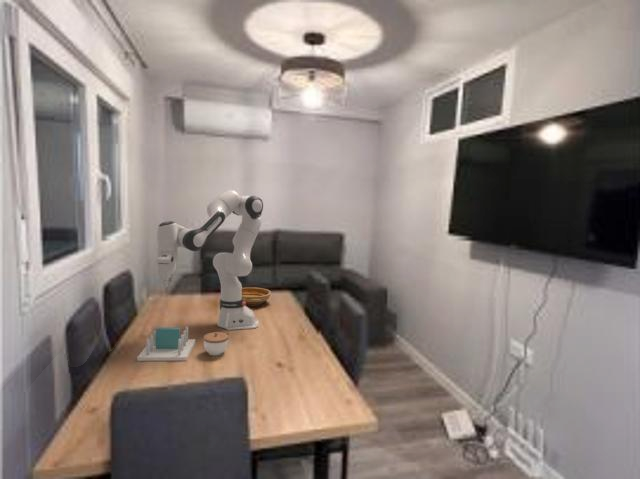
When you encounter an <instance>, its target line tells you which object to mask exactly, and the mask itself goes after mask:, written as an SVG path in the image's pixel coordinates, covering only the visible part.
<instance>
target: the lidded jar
mask: <svg viewBox="0 0 640 479" xmlns="http://www.w3.org/2000/svg"><path fill="white" fill-rule="evenodd" d="M228 343H229V335H228V334H227V333H225V332H221V331H215V332H208V333H206V334H204V335H203V346H204V349H205V351H206V353H207V354H208V355H209V356H215V357H216V356H220V355H222V354H223V353H224V352H225V351H226V350H227V347H228Z"/></svg>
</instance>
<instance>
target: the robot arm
mask: <svg viewBox="0 0 640 479" xmlns="http://www.w3.org/2000/svg"><path fill="white" fill-rule="evenodd" d="M263 210H264V202H263V200H262V199H261V198H260V197H259V196H256V195H239V193H238V192H237V191H235V190H232V189H230V190H226V191H225V192H222V193H220V195H218V196H217V197H216V198H214V199H212V201H210V203H209V204H208V205H207V206H206V214H207V215H208V217H209V218H208V219H206V221H205V222H204V223H203V224H202V225H201V226H200V227H198V228H195V229H193V228H187V227H185V226H183V225H181V224H178V223H176V221H164V222H161V223H159V224H158V227H157V232H156V234H157V235H156V241H157V250H156V251H157V252H156V254H157V256H156V258H155V263H156V264H157V266H156V267H157V275H158V279H159V281H162V287H163V288H165V289H166V288H168V287H169V283H173V279H174V278H173V276H174V273H175V272H176V270H177V262H176V261H177V260H178V259H179V258H178V255H179V254H178V248H183V249H186V250H188V251H191V252H198V251H200V250H201V249H203V247H205V245H206V243H207V241H208V240H209V238H210V237H211V236H212V235H213V234H214V233H215V232H216V231H218V229H219V228H220V227H221V225H222V224H223V223H224V222H225V221H226V219H227V217H229V216H230V215H231V214H232V213H233V215H236V216H241V222H240V224H239V226H238V228H237V230H236V232H235V234H234V236H233V238H232V245H233V251H232V252H219V253H217V254H215V255H214V256H213V259H212V265H213V267H214V269H215V271H216V273H217V275H218V278H219V279H218V280H219V282H220V299H219V316H218V320H217V323H216V326H218V327H219V328H223V329H225V330H228V331H234V330H250V329H251V330H252V329H257V328H258V327H259V325H260V321H259V319H257V318H256V316H255V312H254V311H253V310H252V309H251V308H249V306H246V305H245V304H246V302H245V299H244V300H243V299H242V288H243V285H242V283H241V282H240V280H239V277H246V276H247V277H248V275H249V274H250V273H252V270H253V262H252V261H251V252H252V247H253V246H254V244H255V241H256V238H258V234H259V231H260V229H261V226H262V219H261V216H262V212H263Z"/></svg>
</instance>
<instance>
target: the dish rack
mask: <svg viewBox="0 0 640 479" xmlns="http://www.w3.org/2000/svg"><path fill="white" fill-rule="evenodd" d="M157 327H160V326H156V327H155V329H154V330H152V331H153V333H152V334H151V333H150V334H149V338H146V341H145V342H146V343H145V345H146V346H144V348H143V349H142V351H141V352H140V353H139V355H137V357H136V361H137V362H139V361H140V362H143V361H144V362H146V361H148V362H149V361H150V362H151V361H153V362H155V361H156V362H157V361H158V362H159V361H160V362H161V361H163V362H164V361H167V362H168V361H169V362H170V361H171V362H173V361H175V362H176V361H178V362H179V361H181V362H182V361H184V362H185V361H188V359H189V358H190V357H189V356H190V354H191V352H192V350H193V348H194V347H195V344H196V338H195V339H192V338H191V339H189V326H185V330H183V331H182V333H181V339H178V349H156V328H157Z"/></svg>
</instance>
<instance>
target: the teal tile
mask: <svg viewBox="0 0 640 479" xmlns="http://www.w3.org/2000/svg"><path fill="white" fill-rule="evenodd" d="M156 327H157V326H156ZM156 327H155V330H156V349H178V339H181V335H182V333H181V331H182V330H181V327H168V326H167V327H166V326H165V327H160V326H159V327H157V328H156Z"/></svg>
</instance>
